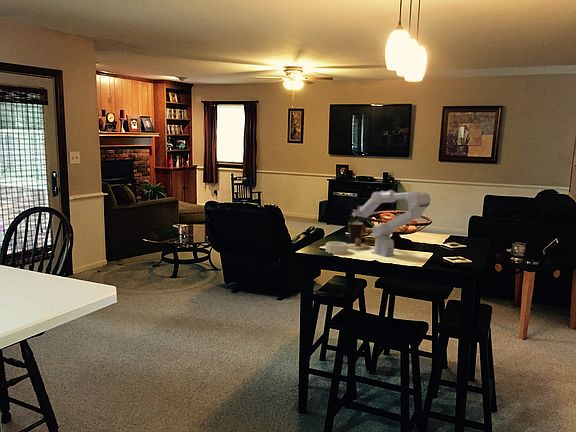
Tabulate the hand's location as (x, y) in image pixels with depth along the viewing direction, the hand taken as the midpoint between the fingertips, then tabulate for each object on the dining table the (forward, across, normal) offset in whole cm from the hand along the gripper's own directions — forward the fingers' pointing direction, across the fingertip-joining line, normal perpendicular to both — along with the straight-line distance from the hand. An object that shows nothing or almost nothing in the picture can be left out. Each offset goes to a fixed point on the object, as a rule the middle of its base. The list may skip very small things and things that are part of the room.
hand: (354, 221), depth 270 cm
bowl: (+6, +17, +13) cm, 22 cm away
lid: (+7, 0, +12) cm, 14 cm away
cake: (+30, -30, -7) cm, 43 cm away
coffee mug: (+20, -16, +2) cm, 26 cm away
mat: (+7, 0, +13) cm, 14 cm away
